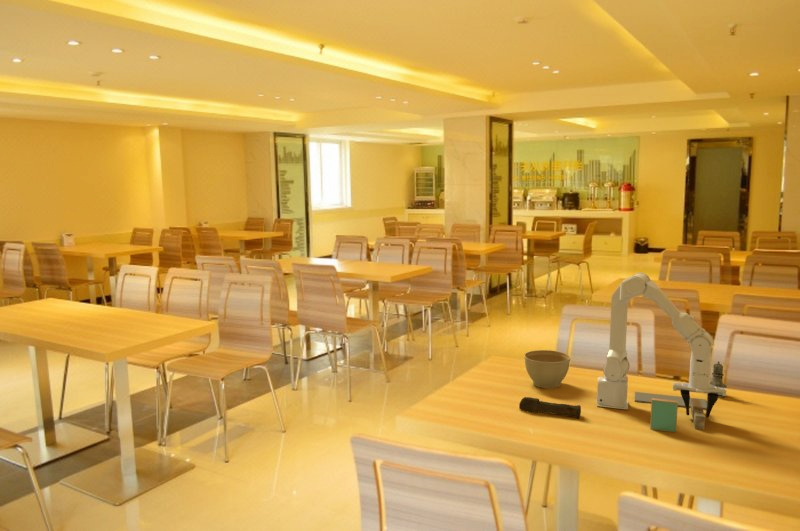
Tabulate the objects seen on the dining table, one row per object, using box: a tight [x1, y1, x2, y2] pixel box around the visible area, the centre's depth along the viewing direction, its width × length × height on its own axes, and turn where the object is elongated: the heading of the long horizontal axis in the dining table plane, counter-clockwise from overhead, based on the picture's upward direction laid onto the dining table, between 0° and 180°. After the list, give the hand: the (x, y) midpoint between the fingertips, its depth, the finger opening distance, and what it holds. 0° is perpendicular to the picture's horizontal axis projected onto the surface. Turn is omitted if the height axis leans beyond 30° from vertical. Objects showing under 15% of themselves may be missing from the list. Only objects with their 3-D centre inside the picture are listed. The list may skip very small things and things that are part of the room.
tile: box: [649, 398, 678, 433], centre depth 178 cm, size 7×2×9 cm, turn 69°
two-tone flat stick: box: [690, 398, 706, 431], centre depth 186 cm, size 2×16×4 cm, turn 158°
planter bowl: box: [523, 349, 571, 389], centre depth 220 cm, size 16×16×11 cm
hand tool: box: [518, 396, 582, 420], centre depth 193 cm, size 19×4×5 cm, turn 66°
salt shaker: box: [710, 361, 728, 399], centre depth 208 cm, size 6×6×12 cm
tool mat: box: [634, 391, 707, 410], centre depth 203 cm, size 22×9×1 cm, turn 69°
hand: (697, 415), depth 186 cm, fingers open, 5 cm apart
